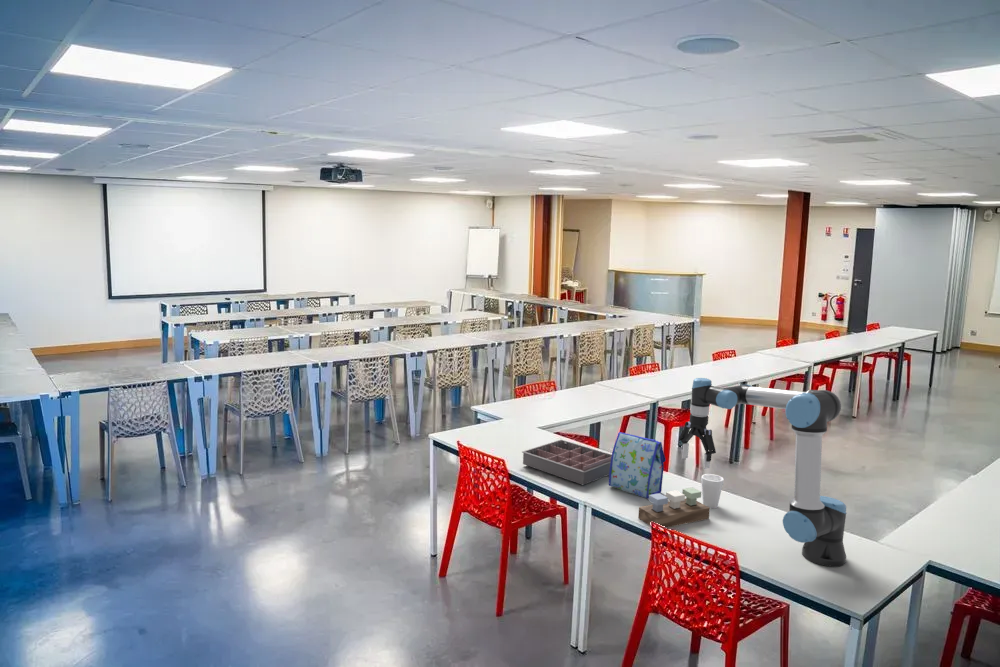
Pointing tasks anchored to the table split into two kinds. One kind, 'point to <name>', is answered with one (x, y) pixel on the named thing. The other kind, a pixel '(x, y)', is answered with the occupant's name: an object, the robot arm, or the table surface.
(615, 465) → the lunch bag
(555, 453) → the organizer tray
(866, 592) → the table surface
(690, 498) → the sage key
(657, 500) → the slate key
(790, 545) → the table surface
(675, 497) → the cream key
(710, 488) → the foam cup
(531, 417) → the table surface
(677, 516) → the wooden socket block
